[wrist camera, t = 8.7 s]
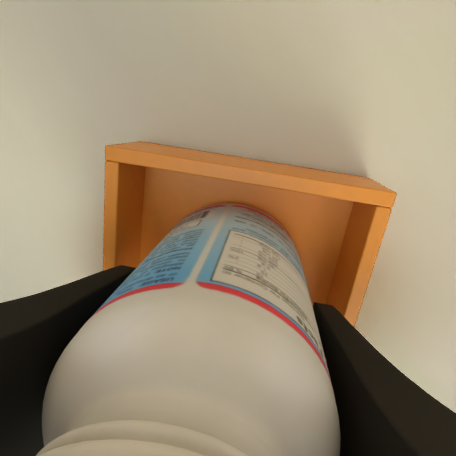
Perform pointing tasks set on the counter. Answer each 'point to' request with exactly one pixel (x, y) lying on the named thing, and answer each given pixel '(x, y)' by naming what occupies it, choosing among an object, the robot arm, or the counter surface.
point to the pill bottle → (199, 352)
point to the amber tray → (255, 197)
